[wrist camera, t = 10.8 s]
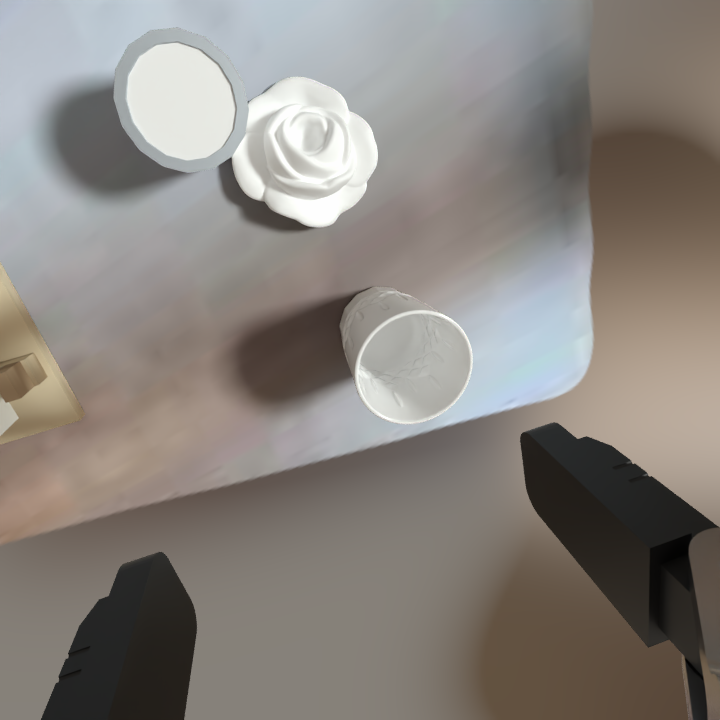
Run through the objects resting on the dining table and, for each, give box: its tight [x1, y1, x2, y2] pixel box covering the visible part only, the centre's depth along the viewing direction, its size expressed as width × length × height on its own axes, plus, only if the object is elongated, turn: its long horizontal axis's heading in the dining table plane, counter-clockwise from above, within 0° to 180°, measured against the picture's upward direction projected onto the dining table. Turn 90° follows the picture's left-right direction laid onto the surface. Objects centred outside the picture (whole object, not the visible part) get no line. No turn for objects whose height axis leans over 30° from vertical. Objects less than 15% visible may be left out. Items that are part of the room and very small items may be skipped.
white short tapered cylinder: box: [113, 28, 249, 173], centre depth 28 cm, size 7×7×7 cm
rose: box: [232, 77, 378, 227], centre depth 31 cm, size 10×4×10 cm
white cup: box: [340, 287, 473, 424], centre depth 34 cm, size 8×8×10 cm
